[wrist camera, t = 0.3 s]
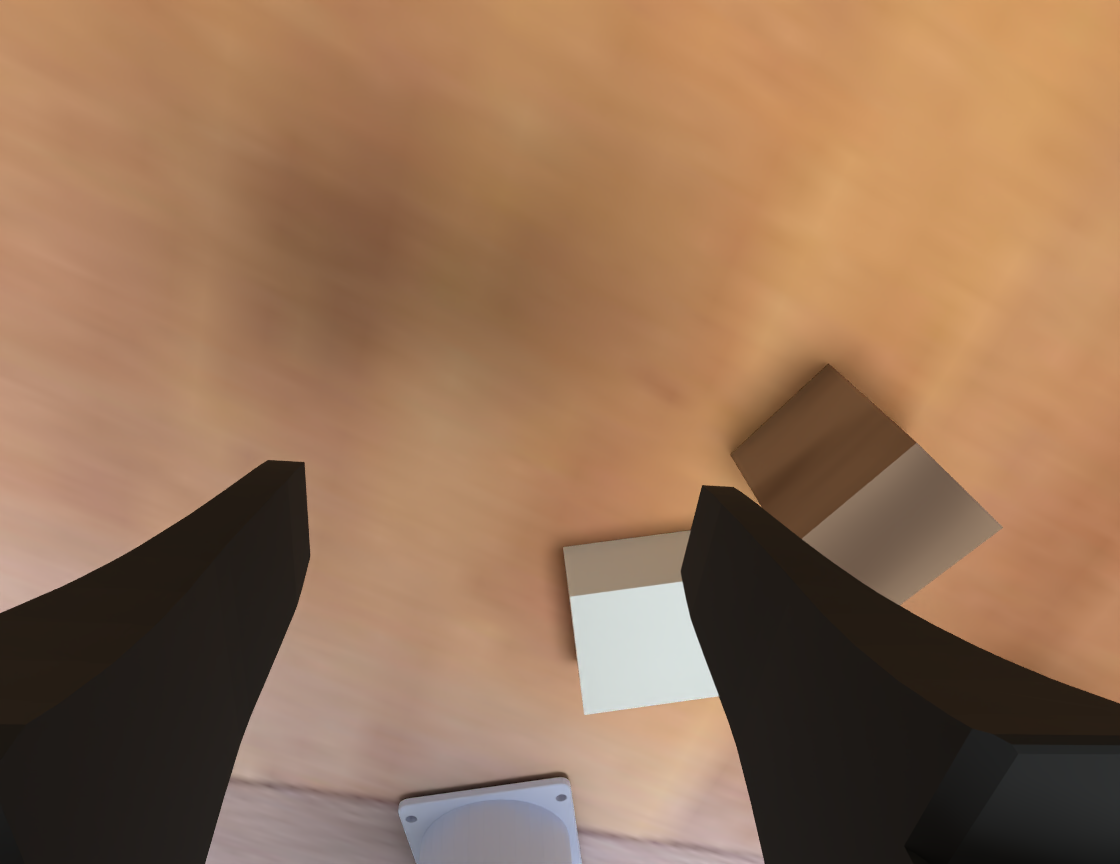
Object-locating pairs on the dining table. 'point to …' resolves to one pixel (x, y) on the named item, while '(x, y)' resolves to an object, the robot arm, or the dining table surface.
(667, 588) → the ceramic slab
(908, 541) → the walnut block
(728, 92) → the dining table surface
